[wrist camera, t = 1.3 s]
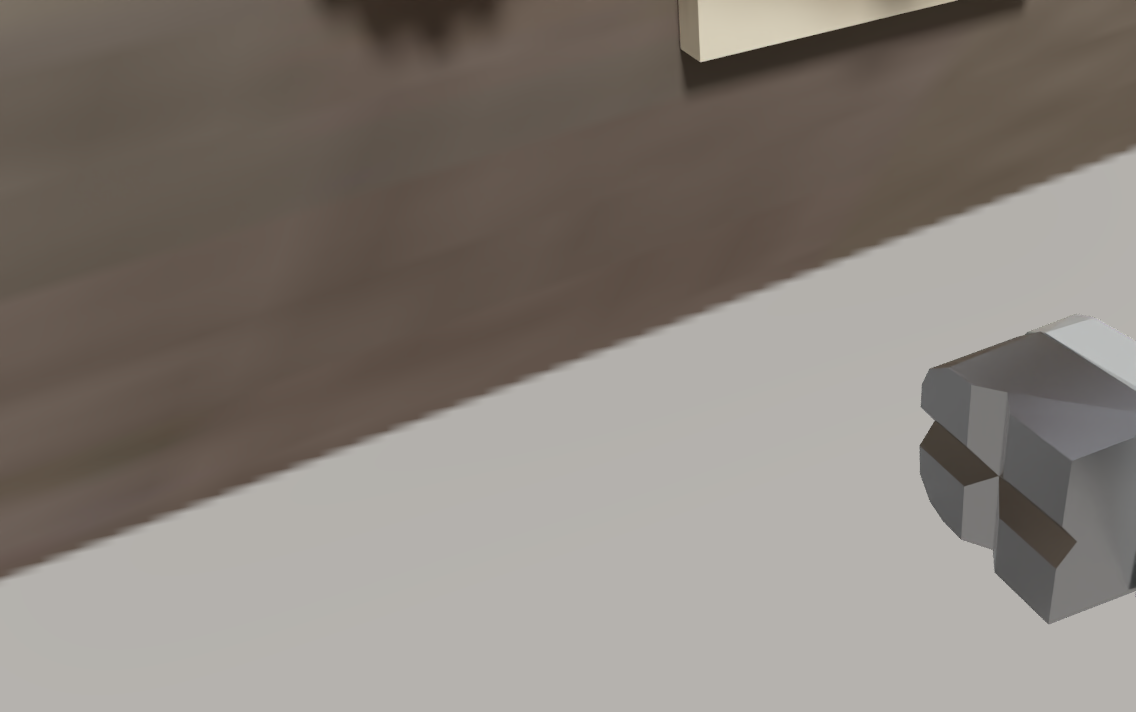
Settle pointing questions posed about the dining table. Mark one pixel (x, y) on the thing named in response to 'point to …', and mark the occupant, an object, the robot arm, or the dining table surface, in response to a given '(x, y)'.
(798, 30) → the gear board
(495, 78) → the dining table surface
